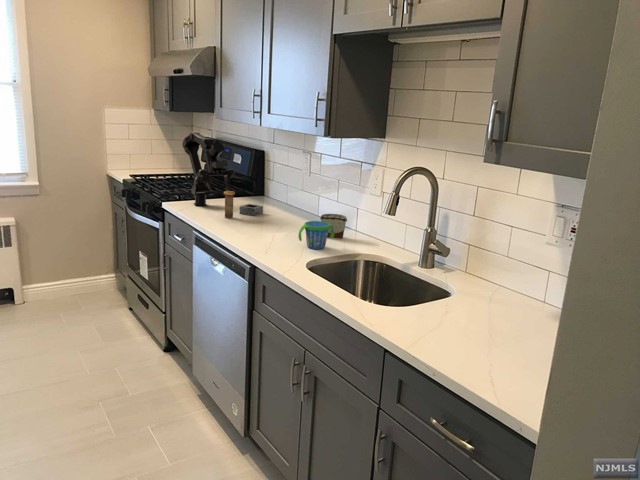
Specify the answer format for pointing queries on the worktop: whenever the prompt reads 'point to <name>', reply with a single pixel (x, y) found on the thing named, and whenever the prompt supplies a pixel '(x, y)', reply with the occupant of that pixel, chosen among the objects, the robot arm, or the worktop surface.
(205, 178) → the robot arm
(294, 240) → the worktop surface
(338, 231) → the food container
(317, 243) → the snack cup
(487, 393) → the worktop surface
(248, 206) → the block
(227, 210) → the pin
